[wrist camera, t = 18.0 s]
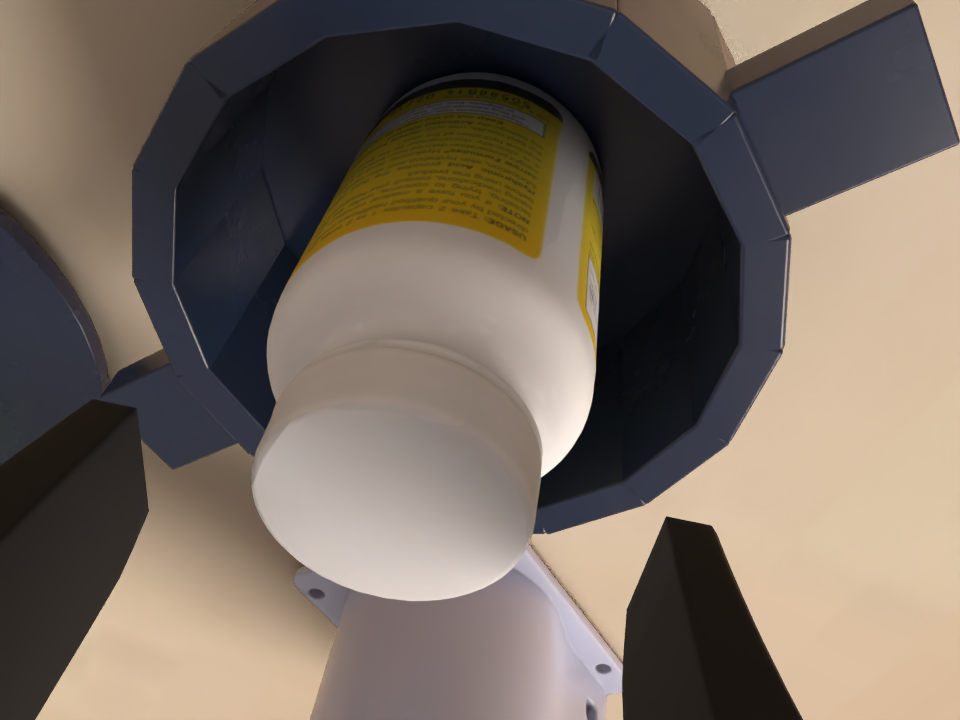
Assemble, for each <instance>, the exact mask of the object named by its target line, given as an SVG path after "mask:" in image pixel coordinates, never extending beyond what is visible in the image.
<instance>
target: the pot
mask: <svg viewBox="0 0 960 720" xmlns="http://www.w3.org/2000/svg"><path fill="white" fill-rule="evenodd" d="M468 72H482V73H493V74H500V75H504V76H508V77H512V78H515V79H518V80H520V81H523V82H525V83H528V84H530V85H532V86H535V87H537V88H539V89H540V90H542V91H544V92H545V93H547V94H549V95H550V96H552V97H553V98H554V99H556V100H557V101H558V102H559V103H561V104H562V105H563V106H564V107H565V108H566V109H567V110H568V111H569V112H570V113H571V114H572V115H573V116H574V117H575V118H576V120H577V121H578V122H579V123H580V124H581V126H582V127H583V129H584V130H585V132H586V133H587V135H588V137H589V139H590V141H591V142H592V144H593V147H594V149H595V151H596V154H597V157H598V160H599V164H600V167H601V172H602V178H603V188H604V214H603V236H602V256H601V271H600V290H599V313H598V328H597V347H596V374H595V381H594V391H593V398H592V403H591V407H590V411H589V414H588V418H587V420H586V423H585V425H584V428H583V430H582V432H581V434H580V435H579V437H578V439H577V440H576V442H575V444H574V446H573V447H572V448H571V450H570V451H569V452H568V453H567V455H566V456H565V457H564V458H563V459H562V461H560V462H559V463H558V464H557V465H556V466H555V467H554V468H553V469H552V470H550V471H549V472H548V473H546V474H545V475H544V476H542V477H541V482H540V490H539V497H538V503H537V511H536V519H535V525H534V530H533V534H544V533H547V534H551V533H554V532H558V531H561V530H564V529H567V528H571V527H574V526H577V525H581V524H584V523H587V522H591V521H594V520H597V519H601V518H604V517H607V516H611V515H614V514H617V513H621V512H624V511H627V510H630V509H634V508H637V507H640V506H644V505H645V504H647V503H649V502H651V501H652V500H653V499H655V498H656V497H657V496H659V495H660V494H661V493H663V492H664V491H666V490H667V489H668V488H670V487H671V486H672V485H674V484H675V483H677V482H678V481H679V480H681V479H682V478H683V477H685V476H686V475H687V474H689V473H690V472H692V471H693V470H694V469H696V468H697V467H698V466H700V465H701V464H703V463H704V462H705V461H707V460H708V459H709V458H711V457H712V456H714V455H715V454H716V453H718V452H719V451H720V450H722V449H723V448H724V447H726V446H727V445H728V444H729V442H730V441H731V440H732V438H733V437H734V435H735V433H736V432H737V430H738V428H739V426H740V425H741V423H742V421H743V420H744V418H745V416H746V415H747V413H748V411H749V409H750V408H751V406H752V404H753V403H754V401H755V399H756V398H757V396H758V394H759V392H760V391H761V389H762V387H763V386H764V384H765V382H766V381H767V379H768V377H769V375H770V374H771V372H772V370H773V369H774V367H775V365H776V364H777V362H778V360H779V359H780V357H781V355H782V353H783V348H784V345H785V333H786V317H787V301H788V286H789V270H790V254H791V234H790V227H789V224H788V220H787V217H786V216H787V215H790V214H792V213H794V212H797V211H799V210H802V209H804V208H806V207H809V206H811V205H814V204H816V203H819V202H821V201H823V200H826V199H828V198H831V197H833V196H835V195H838V194H840V193H843V192H845V191H847V190H850V189H852V188H855V187H857V186H860V185H862V184H864V183H867V182H869V181H872V180H874V179H876V178H879V177H881V176H884V175H886V174H889V173H891V172H893V171H896V170H898V169H901V168H903V167H905V166H908V165H910V164H913V163H915V162H917V161H920V160H922V159H925V158H927V157H930V156H932V155H934V154H937V153H939V152H942V151H944V150H946V149H949V148H951V147H954V146H956V145H958V144H959V141H960V139H959V136H958V133H957V130H956V127H955V123H954V120H953V117H952V114H951V111H950V107H949V104H948V101H947V98H946V95H945V92H944V88H943V85H942V82H941V79H940V76H939V72H938V69H937V66H936V63H935V60H934V56H933V53H932V50H931V47H930V44H929V40H928V37H927V34H926V31H925V28H924V24H923V21H922V18H921V15H920V12H919V8H918V5H917V4H916V3H915V2H914V1H913V0H868V1H866V2H864V3H862V4H860V5H858V6H856V7H854V8H852V9H850V10H848V11H846V12H844V13H842V14H840V15H838V16H836V17H833V18H831V19H829V20H827V21H825V22H823V23H821V24H819V25H817V26H815V27H813V28H811V29H809V30H807V31H805V32H803V33H801V34H799V35H797V36H795V37H793V38H791V39H789V40H787V41H785V42H783V43H781V44H779V45H777V46H775V47H773V48H771V49H769V50H767V51H765V52H763V53H761V54H759V55H757V56H755V57H753V58H751V59H749V60H747V61H744V62H742V63H740V64H738V65H735V62H734V59H733V57H732V55H731V53H730V51H729V49H728V47H727V45H726V43H725V41H724V39H723V37H722V34H721V32H720V30H719V27H718V25H717V23H716V20H715V18H714V17H713V16H712V15H711V12H710V10H709V9H708V8H707V7H705V6H704V5H703V4H702V3H701V2H700V1H699V0H256V1H255V2H254V3H253V4H252V5H251V6H250V7H248V8H247V9H246V10H245V11H244V12H243V13H242V14H240V15H239V16H238V17H237V18H236V19H235V20H234V21H232V22H231V23H230V24H229V25H228V26H227V27H225V28H224V29H223V30H222V31H221V32H220V33H219V34H217V35H216V36H215V37H214V38H213V39H212V40H211V41H209V42H208V43H207V44H206V45H205V46H204V47H203V48H201V49H200V50H199V51H198V52H197V53H196V54H195V55H193V56H192V57H191V59H190V60H189V61H188V62H187V63H186V64H185V66H184V68H183V70H182V72H181V74H180V76H179V78H178V79H177V81H176V83H175V85H174V87H173V89H172V91H171V93H170V95H169V97H168V99H167V100H166V102H165V104H164V106H163V108H162V110H161V112H160V114H159V116H158V118H157V120H156V121H155V123H154V125H153V127H152V129H151V131H150V133H149V135H148V137H147V139H146V141H145V143H144V144H143V146H142V148H141V150H140V152H139V154H138V156H137V158H136V160H135V162H134V164H133V169H132V276H133V278H134V283H135V285H136V287H137V289H138V292H139V294H140V296H141V298H142V301H143V303H144V305H145V308H146V310H147V312H148V314H149V317H150V319H151V321H152V323H153V326H154V328H155V330H156V332H157V335H158V337H159V339H160V341H161V344H162V346H163V348H164V349H162V350H160V351H158V352H156V353H154V354H152V355H150V356H148V357H145V358H143V359H141V360H139V361H137V362H135V363H133V364H131V365H129V366H127V367H125V368H123V369H121V370H119V371H118V373H117V374H116V375H115V377H114V378H113V379H112V381H111V382H110V384H109V385H108V386H107V388H106V389H105V390H104V392H103V393H102V394H101V396H100V399H101V400H102V401H105V402H110V403H115V404H120V405H124V406H129V407H134V408H137V412H138V421H139V429H140V438H141V440H142V441H143V442H144V443H145V444H146V445H148V446H149V447H150V448H151V449H152V450H153V451H154V452H155V453H156V454H157V455H158V456H159V457H160V458H161V459H162V460H163V461H164V462H165V463H166V464H167V465H168V466H169V467H170V468H171V469H172V470H174V469H177V468H179V467H182V466H184V465H186V464H189V463H191V462H194V461H196V460H198V459H201V458H203V457H206V456H208V455H211V454H213V453H215V452H218V451H220V450H223V449H225V448H227V447H230V446H232V445H235V444H237V443H238V444H239V445H240V446H241V447H242V448H243V449H244V450H245V451H246V452H247V453H248V454H251V455H252V456H253V457H254V456H255V453H256V450H257V448H258V446H259V443H260V441H261V439H262V437H263V435H264V433H265V430H266V428H267V426H268V424H269V422H270V419H271V416H272V413H273V410H274V407H275V404H276V400H275V397H274V395H273V392H272V388H271V384H270V379H269V374H268V366H267V339H268V333H269V328H270V325H271V321H272V317H273V314H274V311H275V308H276V306H277V304H278V301H279V299H280V297H281V295H282V292H283V290H284V288H285V286H286V284H287V282H288V280H289V278H290V277H291V275H292V273H293V271H294V269H295V268H296V266H297V264H298V262H299V260H300V258H301V257H302V255H303V253H304V251H305V249H306V248H307V246H308V244H309V242H310V240H311V238H312V237H313V235H314V233H315V231H316V229H317V227H318V226H319V224H320V222H321V220H322V218H323V217H324V215H325V213H326V211H327V209H328V207H329V206H330V204H331V202H332V200H333V198H334V196H335V194H336V193H337V191H338V189H339V188H340V186H341V184H342V182H343V180H344V178H345V176H346V174H347V172H348V171H349V169H350V167H351V165H352V163H353V162H354V160H355V158H356V156H357V154H358V152H359V150H360V148H361V147H362V145H363V143H364V141H365V139H366V138H367V136H368V135H369V133H370V132H371V130H372V129H373V128H374V126H375V125H376V124H377V122H378V121H379V120H380V118H381V117H382V116H383V115H384V113H385V112H386V111H387V110H388V109H389V108H390V107H391V106H392V105H393V104H394V103H395V102H396V101H397V100H398V99H400V98H401V97H402V96H403V95H405V94H406V93H408V92H409V91H411V90H412V89H414V88H416V87H418V86H420V85H422V84H424V83H426V82H428V81H431V80H434V79H437V78H440V77H444V76H448V75H453V74H458V73H468Z"/></svg>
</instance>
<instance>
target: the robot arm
mask: <svg viewBox="0 0 960 720" xmlns="http://www.w3.org/2000/svg"><path fill="white" fill-rule="evenodd" d="M148 512H149V509H148V500H147V491H146V482H145V473H144V465H143V456H142V447H141V438H140V429H139V421H138V412H137V408H134V407H129V406H124V405H120V404H115V403H110V402H105V401H100V400H95V399H92V400H91V401H89V402H87V403H86V404H84V405H83V406H82V407H80V408H79V409H77V410H76V411H74V412H73V413H72V414H70V415H69V416H67V417H66V418H65V419H63V420H62V421H60V422H59V423H58V424H56V425H55V426H54V427H52V428H51V429H49V430H48V431H47V432H45V433H44V434H43V435H41V436H40V437H38V438H37V439H36V440H34V441H33V442H32V443H30V444H29V445H27V446H26V447H25V448H23V449H22V450H20V451H19V452H18V453H16V454H15V455H13V456H12V457H11V458H9V459H8V460H6V461H5V462H4V463H2V464H1V465H0V720H35V719H36V717H37V716H38V714H39V712H40V711H41V709H42V707H43V706H44V704H45V702H46V701H47V699H48V697H49V696H50V694H51V692H52V691H53V689H54V687H55V686H56V684H57V682H58V681H59V679H60V677H61V676H62V674H63V672H64V671H65V669H66V668H67V666H68V664H69V663H70V661H71V659H72V658H73V656H74V654H75V653H76V651H77V649H78V648H79V646H80V644H81V643H82V641H83V639H84V638H85V636H86V634H87V633H88V631H89V629H90V628H91V626H92V624H93V622H94V621H95V619H96V617H97V616H98V614H99V612H100V611H101V609H102V607H103V606H104V604H105V602H106V601H107V599H108V597H109V595H110V594H111V592H112V590H113V589H114V587H115V585H116V583H117V582H118V580H119V578H120V576H121V574H122V571H123V569H124V567H125V565H126V563H127V560H128V558H129V556H130V554H131V552H132V549H133V547H134V545H135V543H136V540H137V538H138V535H139V533H140V531H141V528H142V526H143V524H144V521H145V519H146V517H147V514H148ZM293 581H294V584H295V586H296V587H297V588H298V589H299V590H300V591H301V592H302V593H303V594H304V595H305V596H306V597H307V598H308V599H309V600H310V601H311V602H312V603H313V604H314V605H315V606H316V607H317V608H318V609H319V610H320V611H321V612H322V613H323V614H324V615H325V616H326V617H327V618H328V619H329V620H330V621H331V622H332V623H333V624H334V625H335V626H336V627H337V631H336V635H335V638H334V641H333V645H332V648H331V651H330V655H329V658H328V661H327V664H326V668H325V671H324V674H323V678H322V681H321V684H320V687H319V691H318V694H317V697H316V701H315V704H314V707H313V711H312V714H311V717H310V720H606V701H607V695H612V694H616V693H621V692H622V698H623V720H803V719H802V717H801V715H800V713H799V711H798V709H797V707H796V706H795V704H794V702H793V700H792V698H791V696H790V694H789V692H788V690H787V688H786V686H785V684H784V682H783V680H782V678H781V676H780V674H779V672H778V670H777V668H776V666H775V664H774V662H773V660H772V658H771V656H770V654H769V652H768V650H767V648H766V646H765V644H764V642H763V640H762V638H761V636H760V633H759V631H758V629H757V627H756V625H755V623H754V621H753V618H752V616H751V614H750V612H749V609H748V607H747V605H746V603H745V600H744V598H743V596H742V594H741V591H740V589H739V587H738V584H737V582H736V580H735V577H734V575H733V573H732V570H731V568H730V565H729V563H728V561H727V558H726V556H725V553H724V551H723V548H722V546H721V543H720V541H719V538H718V536H717V533H716V532H715V530H714V529H713V527H712V526H710V525H705V524H701V523H696V522H691V521H686V520H681V519H676V518H671V517H666V518H665V521H664V523H663V525H662V528H661V530H660V532H659V535H658V537H657V540H656V542H655V544H654V547H653V549H652V551H651V554H650V556H649V558H648V561H647V563H646V566H645V568H644V570H643V573H642V575H641V577H640V580H639V582H638V585H637V587H636V589H635V592H634V594H633V596H632V599H631V601H630V603H629V606H628V608H627V615H626V628H625V641H624V656H623V664H622V663H621V662H620V660H619V659H618V658H617V656H616V655H615V654H614V653H613V651H612V650H611V649H610V647H609V646H608V645H607V644H606V642H605V641H604V640H603V639H602V637H601V636H600V635H599V633H598V632H597V631H596V630H595V628H594V627H593V626H592V624H591V623H590V622H589V621H588V619H587V618H586V617H585V615H584V614H583V613H582V612H581V610H580V609H579V608H578V607H577V605H576V604H575V603H574V601H573V600H572V599H571V598H570V596H569V595H568V594H567V592H566V591H565V590H564V589H563V587H562V586H561V585H560V584H559V582H558V581H557V580H556V578H555V577H554V576H553V575H552V573H551V572H550V571H549V569H548V568H547V567H546V566H545V564H544V563H543V562H542V560H541V559H540V558H539V557H538V555H537V554H536V553H535V552H534V550H533V549H532V548H531V546H530V545H528V547H527V549H526V551H525V552H524V554H523V556H522V557H521V559H520V560H519V561H518V563H517V564H516V565H515V566H514V567H513V568H512V569H511V570H510V571H509V572H508V573H507V574H506V575H504V576H503V577H502V578H500V579H499V580H497V581H496V582H494V583H492V584H490V585H488V586H486V587H484V588H482V589H480V590H477V591H475V592H472V593H469V594H466V595H462V596H458V597H454V598H448V599H442V600H431V601H406V600H397V599H389V598H382V597H378V596H374V595H370V594H366V593H362V592H358V591H355V590H353V589H350V588H347V587H344V586H342V585H339V584H337V583H335V582H333V581H331V580H329V579H327V578H325V577H322V576H321V575H319V574H317V573H316V572H314V571H312V570H311V569H309V568H307V567H306V566H303V567H301V568H299V569H298V570H297V571H296V574H295V576H294V579H293Z"/></svg>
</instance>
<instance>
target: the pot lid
mask: <svg viewBox="0 0 960 720" xmlns="http://www.w3.org/2000/svg"><path fill="white" fill-rule="evenodd" d="M108 385H109V379H108V370H107V364H106V361H105V357H104V353H103V349H102V346H101V342H100V340H99V338H98V335H97V333H96V330H95V328H94V326H93V323H92V321H91V318H90V316H89V315H88V313H87V311H86V309H85V308H84V306H83V304H82V302H81V301H80V299H79V297H78V295H77V293H76V292H75V290H74V289H73V287H72V286H71V285H70V283H69V282H68V280H67V279H66V278H65V276H64V275H63V273H62V272H61V271H60V269H59V268H58V266H57V265H56V264H55V263H54V262H53V261H52V259H51V258H50V257H49V256H48V255H47V254H46V252H45V251H44V250H43V249H42V248H41V247H40V246H39V244H38V243H37V242H36V241H35V240H34V239H33V238H32V237H31V236H30V235H29V234H28V233H27V232H26V231H25V230H24V229H23V228H22V227H21V226H20V225H19V224H18V223H17V222H16V221H15V220H13V219H12V218H11V217H10V216H9V215H8V214H7V213H6V212H5V211H3V210H2V209H1V208H0V465H1V464H2V463H4V462H5V461H6V460H8V459H9V458H11V457H12V456H13V455H15V454H16V453H18V452H19V451H20V450H22V449H23V448H25V447H26V446H27V445H29V444H30V443H32V442H33V441H34V440H36V439H37V438H38V437H40V436H41V435H43V434H44V433H45V432H47V431H48V430H49V429H51V428H52V427H54V426H55V425H56V424H58V423H59V422H60V421H62V420H63V419H65V418H66V417H67V416H69V415H70V414H72V413H73V412H74V411H76V410H77V409H79V408H80V407H82V406H83V405H84V404H86V403H87V402H89V401H91V400H92V399H95V400H100V401H102V400H101V399H100V396H101V394H102V393H103V392H104V390H105V389H106V388H107V386H108Z"/></svg>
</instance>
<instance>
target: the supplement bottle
mask: <svg viewBox="0 0 960 720" xmlns="http://www.w3.org/2000/svg"><path fill="white" fill-rule="evenodd" d="M603 214H604V188H603V178H602V172H601V167H600V164H599V160H598V157H597V154H596V151H595V149H594V147H593V144H592V142H591V141H590V139H589V137H588V135H587V133H586V132H585V130H584V129H583V127H582V126H581V124H580V123H579V122H578V121H577V120H576V118H575V117H574V116H573V115H572V114H571V113H570V112H569V111H568V110H567V109H566V108H565V107H564V106H563V105H562V104H561V103H559V102H558V101H557V100H556V99H554V98H553V97H552V96H550V95H549V94H547V93H545V92H544V91H542V90H540V89H539V88H537V87H535V86H532V85H530V84H528V83H525V82H523V81H520V80H518V79H515V78H512V77H508V76H504V75H500V74H493V73H482V72H468V73H458V74H453V75H448V76H444V77H440V78H437V79H434V80H431V81H428V82H426V83H424V84H422V85H420V86H418V87H416V88H414V89H412V90H411V91H409V92H408V93H406V94H405V95H403V96H402V97H401V98H400V99H398V100H397V101H396V102H395V103H394V104H393V105H392V106H391V107H390V108H389V109H388V110H387V111H386V112H385V113H384V115H383V116H382V117H381V118H380V120H379V121H378V122H377V124H376V125H375V126H374V128H373V129H372V130H371V132H370V133H369V135H368V136H367V138H366V139H365V141H364V143H363V145H362V147H361V148H360V150H359V152H358V154H357V156H356V158H355V160H354V162H353V163H352V165H351V167H350V169H349V171H348V172H347V174H346V176H345V178H344V180H343V182H342V184H341V186H340V188H339V189H338V191H337V193H336V194H335V196H334V198H333V200H332V202H331V204H330V206H329V207H328V209H327V211H326V213H325V215H324V217H323V218H322V220H321V222H320V224H319V226H318V227H317V229H316V231H315V233H314V235H313V237H312V238H311V240H310V242H309V244H308V246H307V248H306V249H305V251H304V253H303V255H302V257H301V258H300V260H299V262H298V264H297V266H296V268H295V269H294V271H293V273H292V275H291V277H290V278H289V280H288V282H287V284H286V286H285V288H284V290H283V292H282V295H281V297H280V299H279V301H278V304H277V306H276V308H275V311H274V314H273V317H272V321H271V325H270V328H269V333H268V339H267V366H268V374H269V379H270V384H271V388H272V392H273V395H274V397H275V400H276V404H275V407H274V410H273V413H272V416H271V419H270V422H269V424H268V426H267V428H266V430H265V433H264V435H263V437H262V439H261V441H260V443H259V446H258V448H257V450H256V453H255V456H254V460H253V464H252V470H251V488H252V494H253V499H254V504H255V506H256V508H257V511H258V513H259V515H260V518H261V519H262V521H263V523H264V524H265V526H266V527H267V529H268V531H269V532H270V533H271V534H272V536H273V537H274V538H275V539H276V541H277V542H278V543H279V544H280V545H281V546H282V547H283V548H285V549H286V550H287V551H288V552H289V553H290V554H291V555H292V556H293V557H294V558H295V559H297V560H298V561H299V562H301V563H302V564H303V565H304V566H306V567H307V568H309V569H311V570H312V571H314V572H316V573H317V574H319V575H321V576H322V577H325V578H327V579H329V580H331V581H333V582H335V583H337V584H339V585H342V586H344V587H347V588H350V589H353V590H355V591H358V592H362V593H366V594H370V595H374V596H378V597H382V598H389V599H397V600H406V601H431V600H442V599H448V598H454V597H458V596H462V595H466V594H469V593H472V592H475V591H477V590H480V589H482V588H484V587H486V586H488V585H490V584H492V583H494V582H496V581H497V580H499V579H500V578H502V577H503V576H504V575H506V574H507V573H508V572H509V571H510V570H511V569H512V568H513V567H514V566H515V565H516V564H517V563H518V561H519V560H520V559H521V557H522V556H523V554H524V552H525V551H526V549H527V547H528V545H529V542H530V539H531V537H532V534H533V530H534V525H535V519H536V511H537V503H538V497H539V490H540V482H541V477H542V476H544V475H545V474H546V473H548V472H549V471H550V470H552V469H553V468H554V467H555V466H556V465H557V464H558V463H559V462H560V461H562V459H563V458H564V457H565V456H566V455H567V453H568V452H569V451H570V450H571V448H572V447H573V446H574V444H575V442H576V440H577V439H578V437H579V435H580V434H581V432H582V430H583V428H584V425H585V423H586V420H587V418H588V414H589V411H590V407H591V403H592V398H593V391H594V381H595V374H596V347H597V328H598V313H599V290H600V271H601V256H602V236H603Z"/></svg>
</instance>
